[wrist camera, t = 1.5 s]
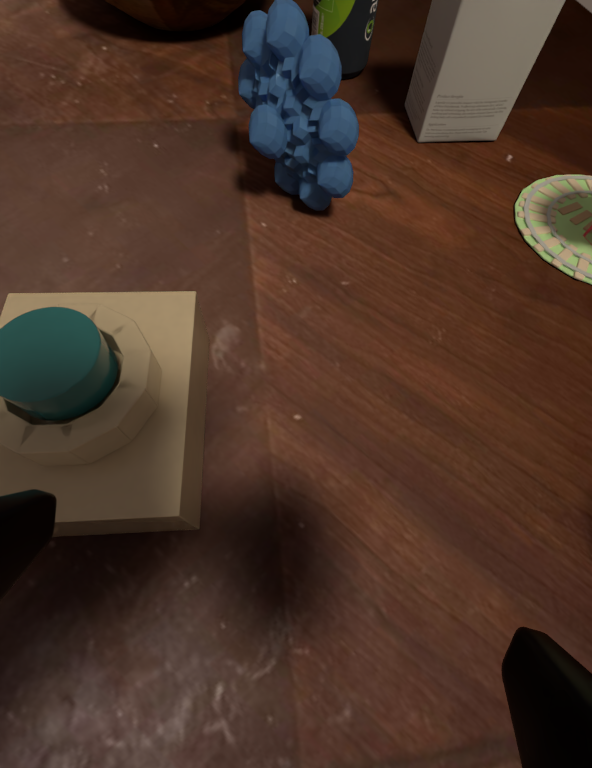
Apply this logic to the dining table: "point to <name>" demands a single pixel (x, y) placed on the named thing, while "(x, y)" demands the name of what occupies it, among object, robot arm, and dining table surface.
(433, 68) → the cosmetic box
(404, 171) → the dining table surface
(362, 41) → the beverage can
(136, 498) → the button housing
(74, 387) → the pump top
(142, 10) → the bowl
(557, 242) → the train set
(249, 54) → the grapes
